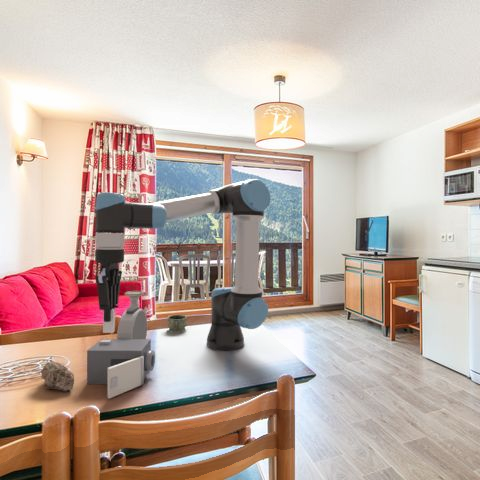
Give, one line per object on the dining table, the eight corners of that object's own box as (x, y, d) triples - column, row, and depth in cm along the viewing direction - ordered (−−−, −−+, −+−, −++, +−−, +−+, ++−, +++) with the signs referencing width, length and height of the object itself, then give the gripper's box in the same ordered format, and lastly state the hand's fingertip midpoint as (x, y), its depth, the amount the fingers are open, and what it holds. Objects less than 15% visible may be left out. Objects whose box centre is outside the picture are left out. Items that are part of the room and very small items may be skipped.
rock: (49, 358, 95) (30, 367, 85) (87, 358, 96) (72, 366, 86) (47, 382, 94) (27, 394, 84) (86, 382, 95) (70, 393, 85)
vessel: (168, 326, 149) (168, 313, 149) (186, 326, 150) (187, 313, 150) (166, 334, 137) (166, 320, 137) (186, 333, 138) (186, 319, 138)
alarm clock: (127, 348, 120) (128, 301, 119) (153, 349, 119) (154, 302, 119) (108, 366, 103) (108, 312, 103) (138, 367, 103) (139, 313, 103)
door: (141, 382, 92) (141, 355, 91) (145, 384, 90) (145, 357, 90) (107, 397, 83) (107, 367, 83) (110, 399, 82) (110, 369, 82)
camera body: (157, 369, 102) (157, 336, 101) (148, 384, 92) (148, 348, 91) (101, 369, 101) (101, 336, 101) (86, 384, 91) (86, 348, 91)
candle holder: (149, 340, 130) (150, 291, 129) (132, 346, 122) (132, 295, 122) (135, 336, 134) (136, 289, 134) (118, 341, 127) (118, 292, 127)
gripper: (106, 247, 93) (105, 325, 94) (85, 249, 80) (84, 339, 81) (131, 247, 93) (130, 325, 94) (114, 249, 80) (113, 339, 81)
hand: (108, 331), depth 87 cm, fingers closed
